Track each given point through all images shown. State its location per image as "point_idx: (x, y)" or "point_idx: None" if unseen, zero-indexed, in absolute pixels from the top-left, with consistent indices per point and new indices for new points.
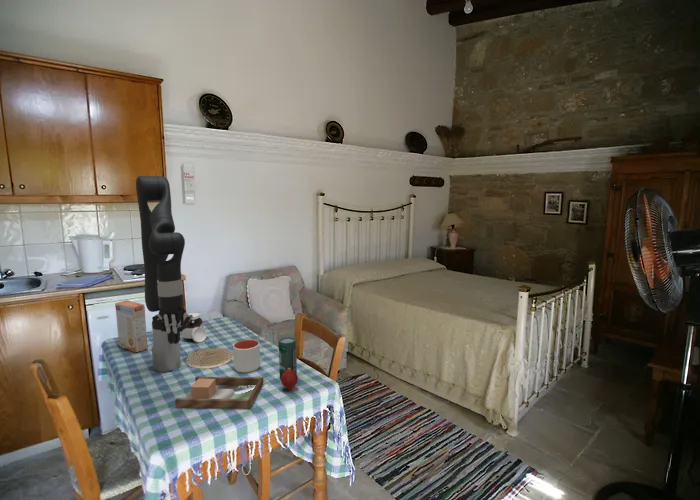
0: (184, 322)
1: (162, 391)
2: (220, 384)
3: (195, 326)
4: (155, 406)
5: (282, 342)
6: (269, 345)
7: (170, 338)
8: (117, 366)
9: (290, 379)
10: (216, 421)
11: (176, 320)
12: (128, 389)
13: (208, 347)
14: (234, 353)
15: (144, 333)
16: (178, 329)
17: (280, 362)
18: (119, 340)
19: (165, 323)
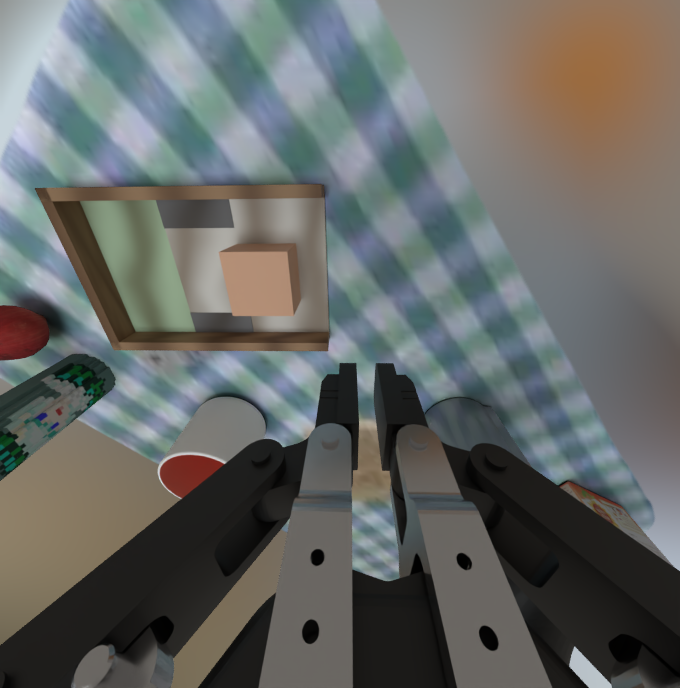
0: (136, 583)
1: (418, 296)
2: (252, 333)
3: None
4: (402, 198)
5: None
6: None
7: (387, 389)
8: (602, 424)
9: None
10: (128, 94)
11: (279, 642)
12: (533, 305)
13: (386, 502)
14: (235, 445)
15: None
16: (297, 470)
17: (49, 398)
18: (635, 524)
19: (488, 564)
